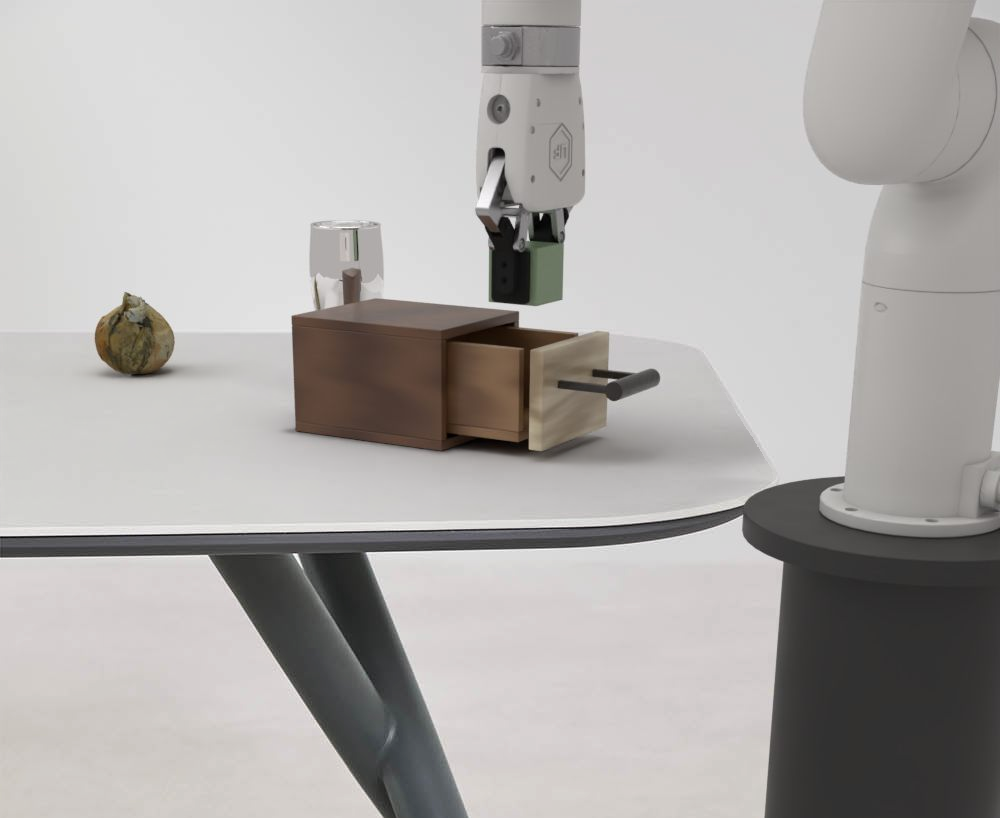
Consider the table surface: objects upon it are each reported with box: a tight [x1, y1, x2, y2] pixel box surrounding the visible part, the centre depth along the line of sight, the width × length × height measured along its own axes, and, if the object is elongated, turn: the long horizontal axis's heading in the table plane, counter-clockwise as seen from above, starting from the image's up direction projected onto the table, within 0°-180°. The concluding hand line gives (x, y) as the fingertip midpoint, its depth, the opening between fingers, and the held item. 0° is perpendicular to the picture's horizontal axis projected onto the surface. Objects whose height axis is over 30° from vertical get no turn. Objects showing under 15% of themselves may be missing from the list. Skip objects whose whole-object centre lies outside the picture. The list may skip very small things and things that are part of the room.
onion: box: [94, 291, 176, 376], centre depth 169 cm, size 8×8×8 cm
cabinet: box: [291, 298, 520, 452], centre depth 145 cm, size 15×13×10 cm
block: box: [488, 240, 565, 307], centre depth 136 cm, size 4×4×4 cm
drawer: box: [445, 325, 661, 452], centre depth 139 cm, size 19×11×8 cm, turn 60°
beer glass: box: [308, 219, 385, 311], centre depth 161 cm, size 7×7×15 cm
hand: (526, 296), depth 137 cm, fingers closed on block, 4 cm apart
